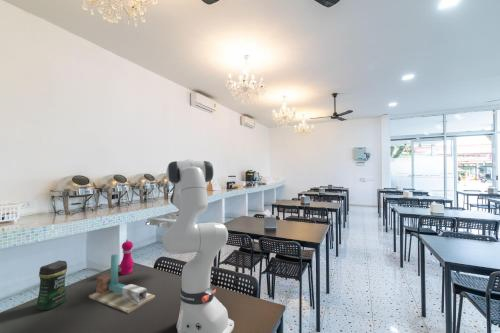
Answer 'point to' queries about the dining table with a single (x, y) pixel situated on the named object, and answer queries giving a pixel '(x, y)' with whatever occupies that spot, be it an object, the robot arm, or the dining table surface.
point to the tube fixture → (120, 295)
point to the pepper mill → (127, 258)
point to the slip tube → (114, 276)
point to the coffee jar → (52, 285)
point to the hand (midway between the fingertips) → (152, 224)
